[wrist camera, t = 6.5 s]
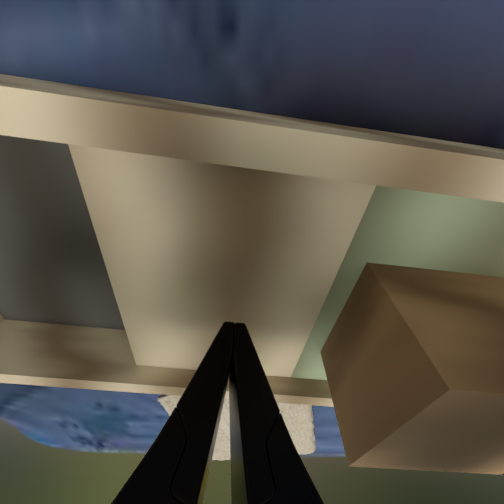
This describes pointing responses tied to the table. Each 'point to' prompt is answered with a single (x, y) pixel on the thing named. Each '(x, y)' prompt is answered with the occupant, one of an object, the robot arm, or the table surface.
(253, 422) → the robot arm
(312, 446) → the washcloth
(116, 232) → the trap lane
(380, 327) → the walnut block
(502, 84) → the table surface
